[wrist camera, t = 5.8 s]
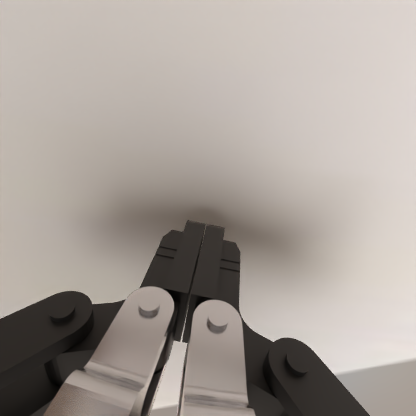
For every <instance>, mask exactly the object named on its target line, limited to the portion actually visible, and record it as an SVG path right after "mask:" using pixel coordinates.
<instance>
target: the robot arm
mask: <svg viewBox="0 0 416 416" xmlns="http://www.w3.org/2000/svg"><path fill="white" fill-rule="evenodd" d="M224 229H225V228H224V227H219V226H214V225H209V224H207V226H206V230H205V224H204V223H199V222H194V221H189V220H188V221H187V223H186V226H185V229H184V232H180V231H175V230H171V231H170V232H169V233H167V234H166V235H165V236H164V237H163V238H162V241H161V243H160V245H159V248H158V249H157V252H156V254H155V256H154V258H153V260H152V262H151V265H150V267H149V269H148V271H147V273H146V276H145V278H144V280H143V282H142V284H141V286H140V288H139V289H137V290H135V291H134V292H132V293H131V294H130V295H129V296H128V297H127V299H125V300H122V301H119V302H114V303H104V304H92V302H91V300H90V299H89V297H88V296H86V295H85V294H83V293H81V292H76V291H66V292H61V293H57V294H55V295H52V296H50V297H48V298H46V299H44V300H41V301H39V302H37V303H35V304H32V305H30V306H28V307H26V308H24V309H21V310H19V311H17V312H15V313H12V314H10V315H8V316H6V317H4V318H1V319H0V416H149V415H150V412H151V409H152V406H153V403H154V400H155V397H156V394H157V391H158V388H159V385H160V382H161V379H162V376H163V373H164V370H165V367H166V364H167V361H168V359H169V356H170V353H171V349H172V345H173V341H174V340H175V341H180V340H181V336H182V331H183V327H184V323H185V318H186V323H185V329H184V334H183V340H182V342H185V343H188V344H187V349H186V354H185V360H184V365H183V370H182V378H181V386H180V393H179V401H178V409H177V416H370V415H369V414H368V413H367V412H366V411H365V409H364V408H363V407H362V406H361V405H360V404H359V403H358V401H356V399H355V398H354V397H353V396H352V395H351V394H350V392H348V390H347V389H346V388H345V387H344V386H343V384H342V383H341V382H340V381H339V380H338V379H337V378H336V376H335V375H334V374H333V373H332V372H331V371H330V370H329V368H328V367H327V366H326V365H325V364H324V363H323V362H322V360H321V359H320V358H319V357H318V356H317V355H316V354H315V352H314V351H313V350H312V349H311V348H310V347H308V346H307V345H306V344H304V343H303V342H301V341H299V340H296V339H293V338H280V339H278V340H276V341H275V342H272V341H270V340H268V339H267V338H265V337H263V336H261V335H259V334H257V333H256V332H254V331H253V330H252V329H250V328H249V327H248V326H247V325H246V323H245V322H244V320H243V319H242V317H241V315H240V311H239V284H240V251H239V249H238V247H237V245H236V243H234V242H229V241H225V240H223V237H224ZM204 230H205V235H204ZM203 235H204V239H203ZM202 241H203V243H202ZM201 246H202V247H201ZM188 305H189V306H188ZM187 310H188V312H187ZM186 314H187V317H186Z"/></svg>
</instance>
